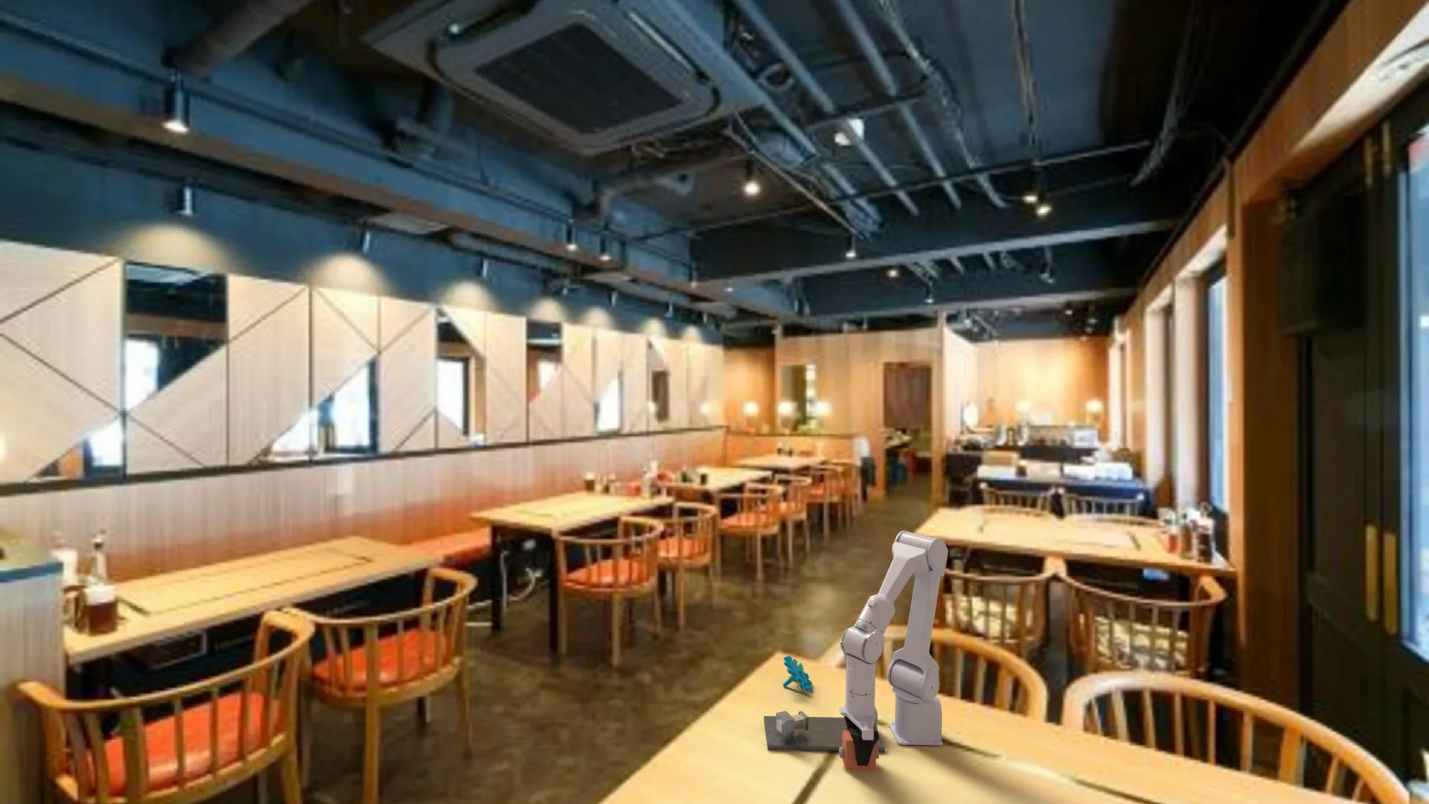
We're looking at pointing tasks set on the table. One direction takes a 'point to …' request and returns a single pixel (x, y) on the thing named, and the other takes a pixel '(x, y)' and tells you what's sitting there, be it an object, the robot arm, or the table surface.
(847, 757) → the block
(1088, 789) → the table surface
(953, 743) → the table surface
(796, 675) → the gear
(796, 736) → the stand
